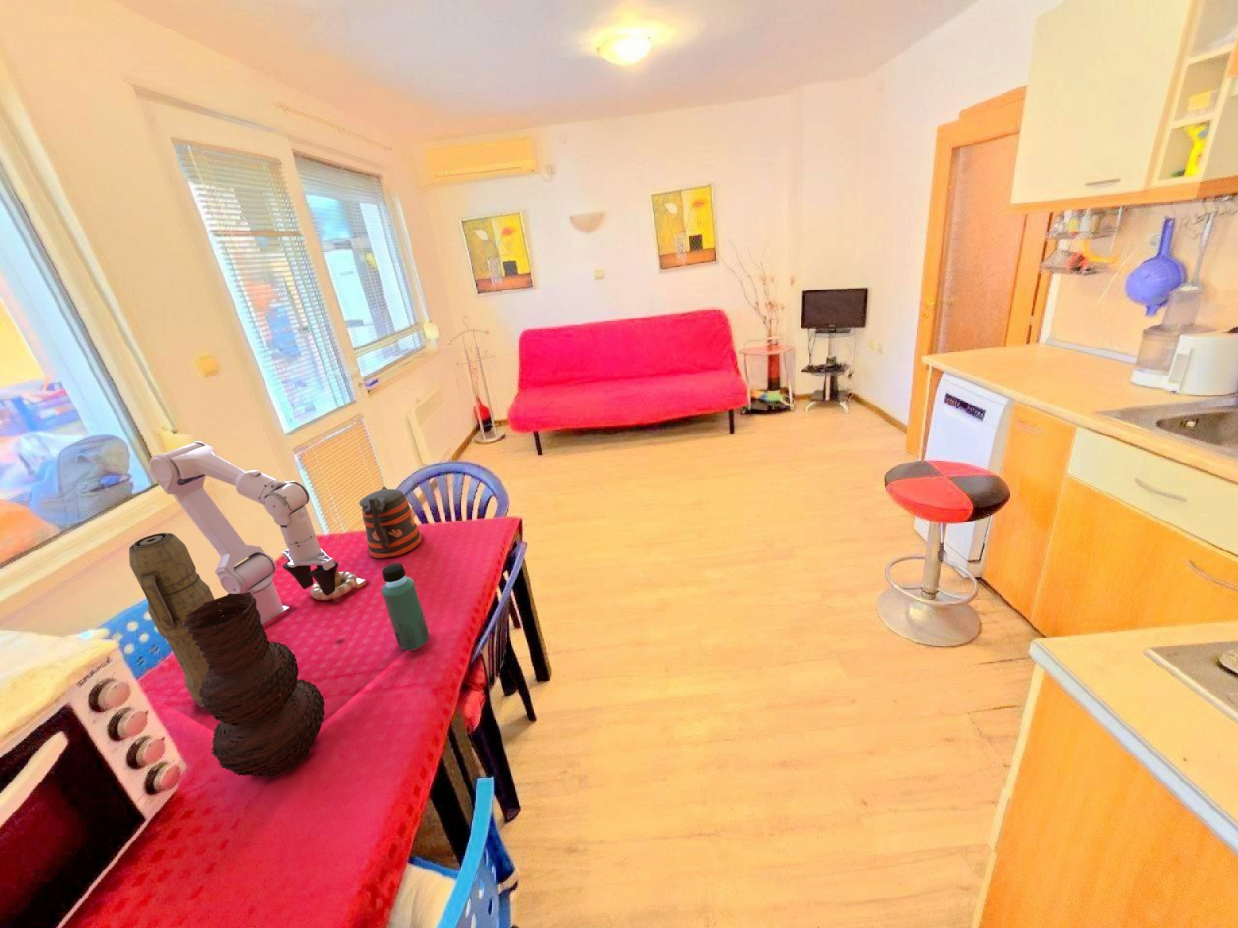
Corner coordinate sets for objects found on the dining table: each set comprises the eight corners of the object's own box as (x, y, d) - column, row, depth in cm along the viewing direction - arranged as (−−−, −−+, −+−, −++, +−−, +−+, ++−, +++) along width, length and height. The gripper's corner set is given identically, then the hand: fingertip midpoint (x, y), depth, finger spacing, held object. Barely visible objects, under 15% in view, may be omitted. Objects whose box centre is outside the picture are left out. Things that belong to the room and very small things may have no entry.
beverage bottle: (438, 639, 109) (417, 560, 102) (415, 660, 104) (390, 579, 96) (416, 632, 112) (393, 555, 105) (392, 653, 106) (367, 573, 99)
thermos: (258, 666, 106) (193, 519, 93) (245, 706, 96) (170, 547, 83) (208, 681, 103) (133, 531, 90) (188, 725, 93) (101, 563, 80)
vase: (324, 781, 80) (259, 628, 69) (213, 814, 76) (126, 658, 65) (344, 707, 94) (293, 570, 83) (251, 732, 90) (185, 592, 79)
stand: (312, 596, 129) (304, 572, 126) (343, 577, 136) (336, 554, 134) (336, 603, 125) (327, 579, 122) (366, 583, 132) (359, 560, 130)
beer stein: (420, 559, 141) (403, 495, 134) (364, 572, 138) (343, 507, 130) (422, 529, 158) (407, 471, 151) (372, 540, 154) (354, 480, 147)
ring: (303, 602, 125) (300, 594, 124) (329, 577, 134) (326, 570, 133) (342, 601, 123) (339, 593, 123) (365, 577, 133) (363, 569, 132)
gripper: (261, 541, 109) (282, 593, 114) (304, 552, 103) (324, 606, 108) (292, 526, 115) (311, 576, 120) (335, 535, 109) (352, 588, 114)
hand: (319, 589), depth 115 cm, fingers open, 7 cm apart
